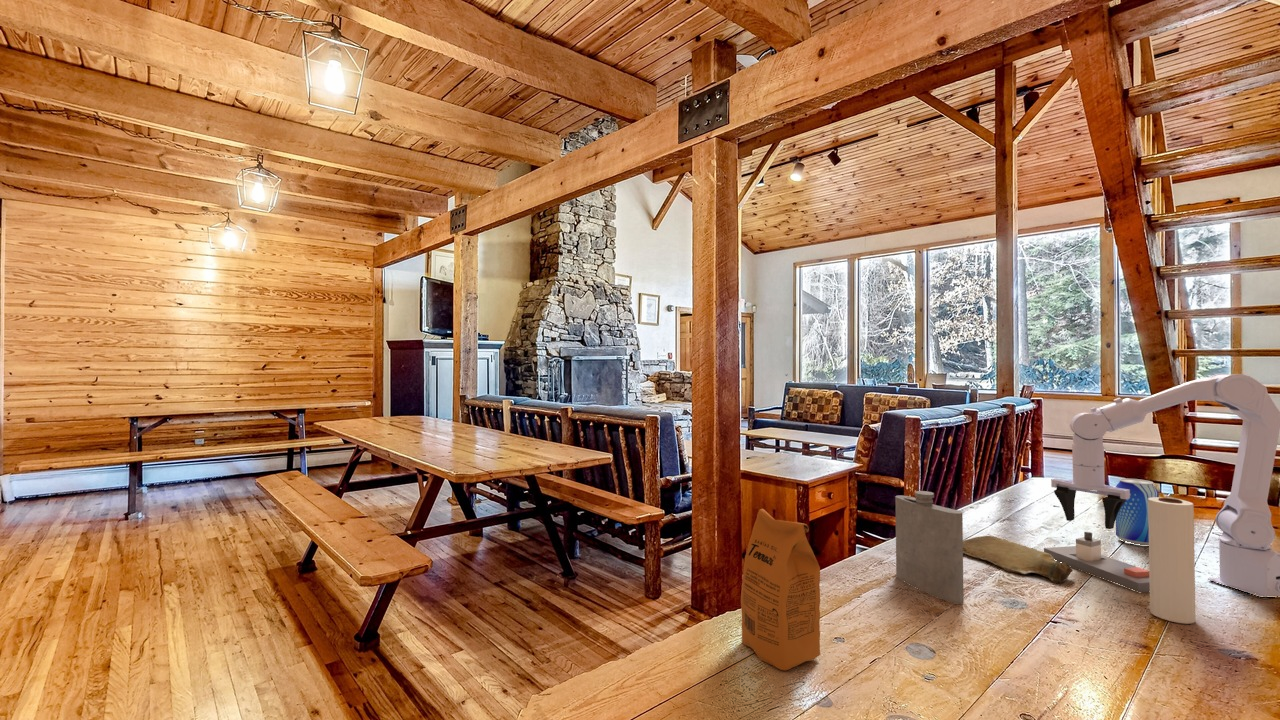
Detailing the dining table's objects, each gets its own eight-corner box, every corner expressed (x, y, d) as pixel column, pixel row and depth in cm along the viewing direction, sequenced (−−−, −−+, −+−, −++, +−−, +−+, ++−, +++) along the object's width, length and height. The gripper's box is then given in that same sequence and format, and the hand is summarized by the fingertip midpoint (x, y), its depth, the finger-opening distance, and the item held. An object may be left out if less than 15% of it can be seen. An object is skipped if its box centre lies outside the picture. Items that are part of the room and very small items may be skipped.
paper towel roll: (1180, 626, 97) (1178, 504, 97) (1141, 612, 103) (1139, 497, 103) (1209, 621, 99) (1206, 502, 99) (1168, 607, 105) (1166, 494, 105)
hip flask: (967, 602, 108) (966, 499, 108) (951, 605, 106) (950, 501, 107) (904, 573, 123) (903, 483, 123) (889, 576, 121) (888, 484, 122)
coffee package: (779, 628, 98) (778, 503, 98) (830, 662, 86) (828, 521, 86) (731, 639, 94) (730, 509, 94) (777, 677, 82) (776, 528, 82)
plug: (1101, 566, 127) (1100, 533, 127) (1091, 569, 125) (1090, 535, 125) (1086, 562, 129) (1085, 529, 129) (1076, 565, 128) (1075, 531, 128)
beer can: (1169, 547, 139) (1167, 484, 139) (1136, 548, 139) (1134, 484, 139) (1138, 537, 147) (1137, 477, 148) (1107, 538, 147) (1106, 477, 148)
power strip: (1176, 590, 113) (1176, 575, 113) (1138, 593, 112) (1138, 578, 112) (1076, 554, 135) (1076, 541, 135) (1043, 556, 133) (1043, 543, 133)
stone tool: (1087, 577, 119) (980, 544, 142) (1085, 558, 119) (978, 528, 142) (1051, 592, 115) (947, 555, 138) (1048, 573, 115) (945, 539, 138)
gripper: (1135, 468, 123) (1137, 529, 123) (1061, 459, 136) (1062, 514, 136) (1120, 471, 120) (1121, 534, 120) (1046, 461, 133) (1047, 518, 133)
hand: (1089, 524), depth 128 cm, fingers open, 7 cm apart
